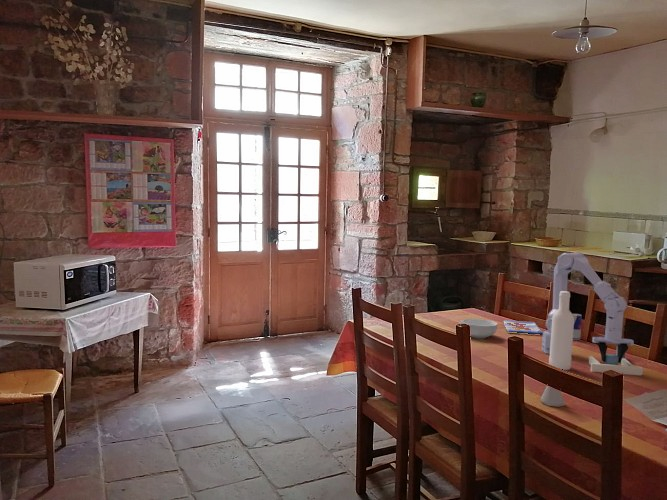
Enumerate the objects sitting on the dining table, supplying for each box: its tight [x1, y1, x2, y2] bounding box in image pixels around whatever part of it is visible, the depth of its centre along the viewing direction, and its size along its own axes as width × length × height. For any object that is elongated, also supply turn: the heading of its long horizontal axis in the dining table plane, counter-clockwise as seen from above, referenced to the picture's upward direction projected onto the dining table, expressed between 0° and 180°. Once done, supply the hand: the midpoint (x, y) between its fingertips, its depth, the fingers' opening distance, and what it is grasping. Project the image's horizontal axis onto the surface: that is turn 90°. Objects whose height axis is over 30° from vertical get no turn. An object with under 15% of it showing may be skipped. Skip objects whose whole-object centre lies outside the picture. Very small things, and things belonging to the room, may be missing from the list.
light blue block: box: [603, 353, 619, 365], centre depth 209 cm, size 5×5×4 cm
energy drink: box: [572, 313, 583, 341], centre depth 252 cm, size 5×5×12 cm
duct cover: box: [615, 346, 626, 359], centre depth 219 cm, size 14×1×4 cm, turn 160°
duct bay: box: [588, 355, 644, 376], centre depth 208 cm, size 18×12×3 cm, turn 80°
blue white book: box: [502, 319, 544, 336], centre depth 270 cm, size 17×24×3 cm
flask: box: [540, 385, 566, 408], centre depth 170 cm, size 7×7×10 cm
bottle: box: [548, 290, 574, 371], centre depth 207 cm, size 8×8×30 cm
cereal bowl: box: [460, 318, 499, 339], centre depth 253 cm, size 17×17×7 cm
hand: (611, 361), depth 209 cm, fingers closed on light blue block, 5 cm apart
